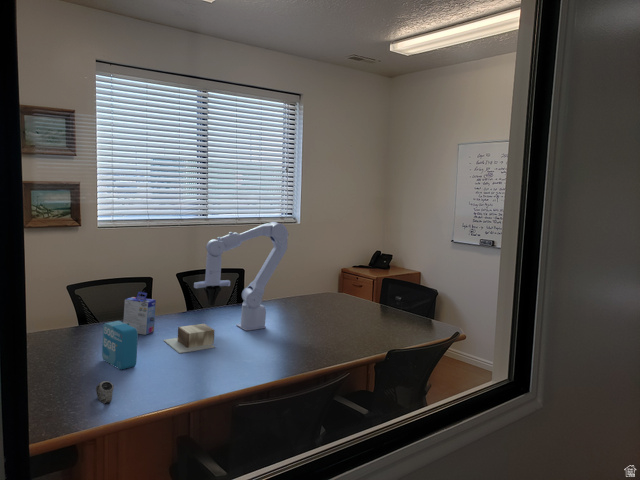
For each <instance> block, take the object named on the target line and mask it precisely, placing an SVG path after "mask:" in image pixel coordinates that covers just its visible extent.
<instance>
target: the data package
mask: <svg viewBox="0 0 640 480" xmlns="http://www.w3.org/2000/svg"><path fill="white" fill-rule="evenodd" d="M138 336H139V334H138V332H137V330H136V328H134V327H131V326H129V325H127V324H125V323H123V322H122V321H121V320H115V321H110V322H106V323H104V324H103V326H102V345H101V347H102V351H101V357H102V360H103V361H104V360H105V361H107V362H108V364H109V363H110V364H109V365H111V364H112V365H114V366H116V367H118V368H119V369H118V368H117V369H118V370H120V369H121V370H120V371H122V369H123V370H127V369H130V368H134V367H136V365H137V360H138V359H137V357H138V356H137V354H138V339H139V337H138ZM105 361H104V362H105ZM107 362H106V363H107ZM112 365H111V366H112ZM114 366H113V367H114ZM116 367H115V368H116ZM126 368H127V369H126Z"/></svg>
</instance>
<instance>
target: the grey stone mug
mask: <svg viewBox="0 0 640 480" xmlns="http://www.w3.org/2000/svg"><path fill="white" fill-rule="evenodd" d="M114 387H115V386H114V384H113V383H112V382H111V381H109V380H104V381H101V382H99V383H98V384H97V386H96V389H95V391H96V396H97V397H96V398H98V400H99V402H101V401H102V402H101V403H103V404H104V403H106V404H108V403H111V402H112V401H113V392H114Z"/></svg>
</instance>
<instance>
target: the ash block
mask: <svg viewBox="0 0 640 480" xmlns="http://www.w3.org/2000/svg"><path fill="white" fill-rule="evenodd" d="M215 332H216V331H215V329H213V328H212V327H211V326H209V325H208V324H207V323H206V324H205V323H201V324H200V323H199V324H198V323H197V324H192V325H185V326H184V325H183V326H178V328H177V338H178V342H180V343H181V344H182V345H184V346H185V347H186V348H189V347H196V346H202V345H208V344H212V345H214V344H215Z"/></svg>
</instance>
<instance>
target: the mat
mask: <svg viewBox="0 0 640 480" xmlns="http://www.w3.org/2000/svg"><path fill="white" fill-rule="evenodd" d="M163 342H164V343H166V344H167V345H168V346H169V347H171V348H172V349H173V350H174V351H176V352H177V353H178V354H184V353H185V354H186V353H191V352H195V351H203V350H208V349H213V348H216V346H215V345H214V344H208V345H202V346H196V347H189V348H186V347H185V346H184V345H182V344H181V343H180V342H178V337H174V338H168V339H167V338H166V339H163Z"/></svg>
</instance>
